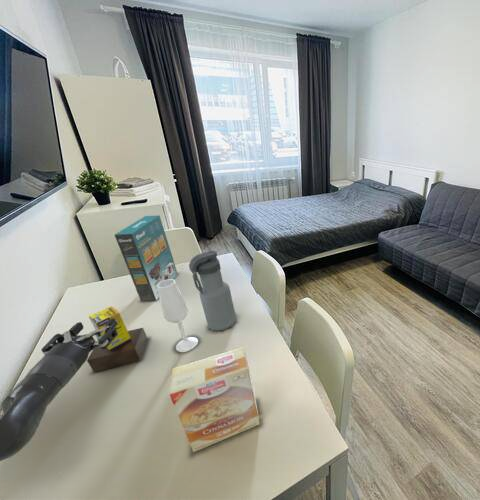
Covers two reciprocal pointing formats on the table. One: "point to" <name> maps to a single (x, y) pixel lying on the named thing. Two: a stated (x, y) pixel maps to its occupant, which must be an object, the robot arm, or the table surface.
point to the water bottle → (213, 291)
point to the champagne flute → (175, 311)
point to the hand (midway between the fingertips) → (97, 322)
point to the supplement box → (123, 336)
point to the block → (119, 352)
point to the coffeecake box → (214, 398)
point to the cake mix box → (147, 255)
